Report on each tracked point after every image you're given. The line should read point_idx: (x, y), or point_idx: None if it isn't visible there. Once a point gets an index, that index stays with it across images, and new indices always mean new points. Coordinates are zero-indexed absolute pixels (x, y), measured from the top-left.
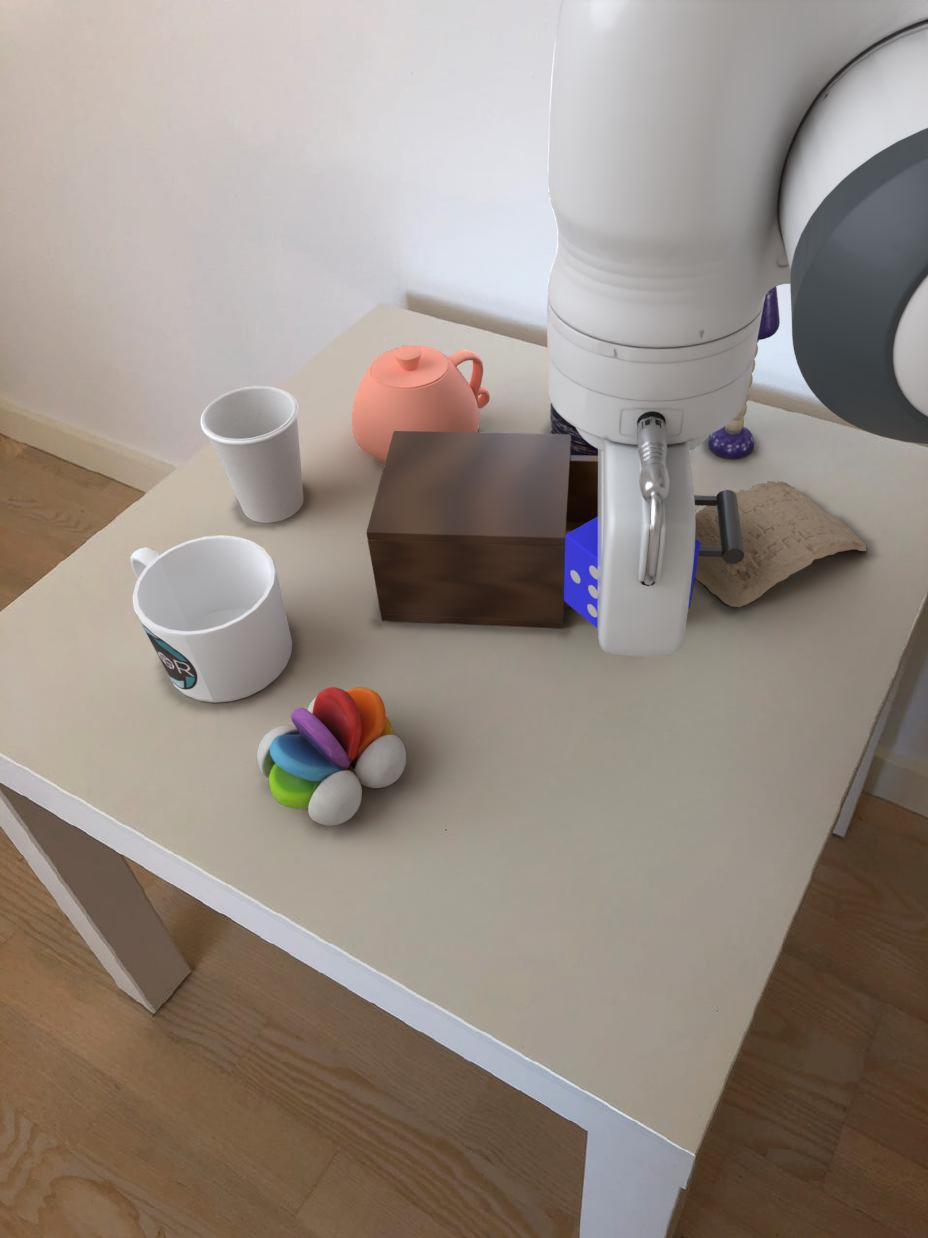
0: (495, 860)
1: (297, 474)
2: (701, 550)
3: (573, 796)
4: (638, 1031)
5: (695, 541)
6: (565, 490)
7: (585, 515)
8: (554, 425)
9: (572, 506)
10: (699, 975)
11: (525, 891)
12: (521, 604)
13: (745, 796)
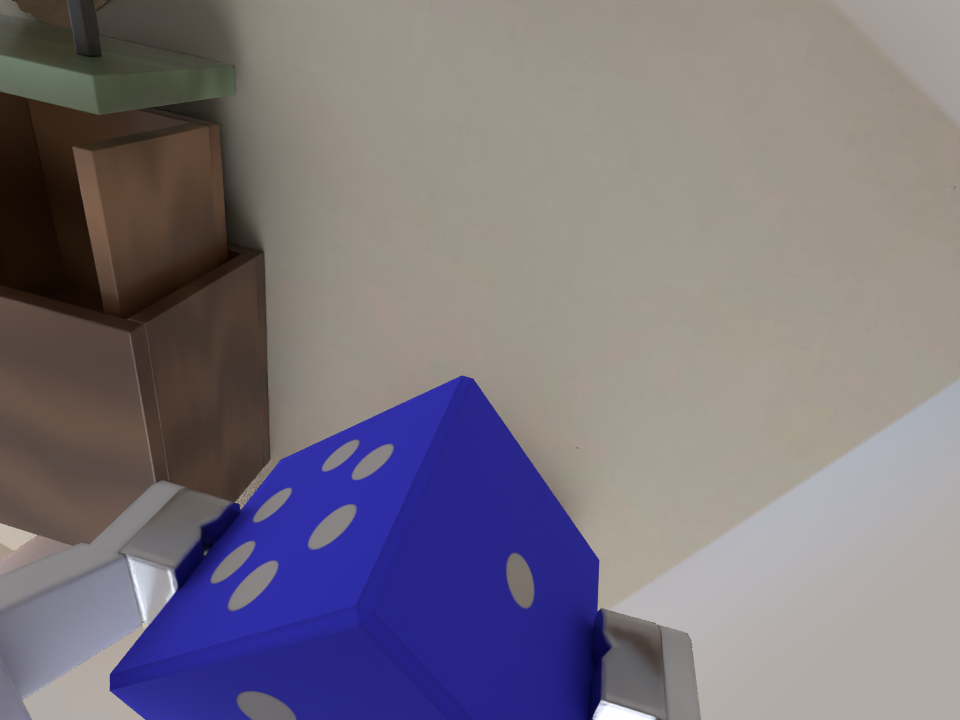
0: (631, 407)
1: (64, 543)
2: (81, 11)
3: (556, 300)
4: (930, 300)
5: (363, 637)
6: (5, 301)
7: (32, 191)
8: None
9: (20, 219)
10: (890, 198)
11: (684, 384)
12: (239, 326)
13: (606, 28)
